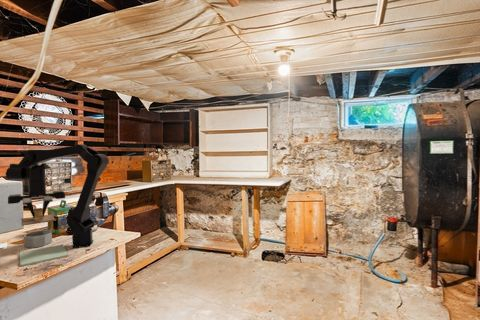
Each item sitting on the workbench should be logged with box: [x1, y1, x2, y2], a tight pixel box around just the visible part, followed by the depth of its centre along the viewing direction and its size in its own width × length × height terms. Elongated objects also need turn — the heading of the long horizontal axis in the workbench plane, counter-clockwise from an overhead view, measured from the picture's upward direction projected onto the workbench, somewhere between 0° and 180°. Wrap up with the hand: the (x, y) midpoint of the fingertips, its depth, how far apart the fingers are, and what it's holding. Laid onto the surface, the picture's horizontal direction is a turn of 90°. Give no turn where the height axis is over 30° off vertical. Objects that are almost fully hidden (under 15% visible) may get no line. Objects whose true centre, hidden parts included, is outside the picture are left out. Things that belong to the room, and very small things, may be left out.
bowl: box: [23, 229, 53, 249], centre depth 115 cm, size 9×9×4 cm
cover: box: [20, 207, 56, 227], centre depth 113 cm, size 11×11×5 cm
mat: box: [19, 243, 69, 268], centre depth 103 cm, size 14×14×1 cm
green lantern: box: [47, 199, 74, 235], centre depth 133 cm, size 9×9×15 cm
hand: (38, 217), depth 113 cm, fingers closed on cover, 3 cm apart
